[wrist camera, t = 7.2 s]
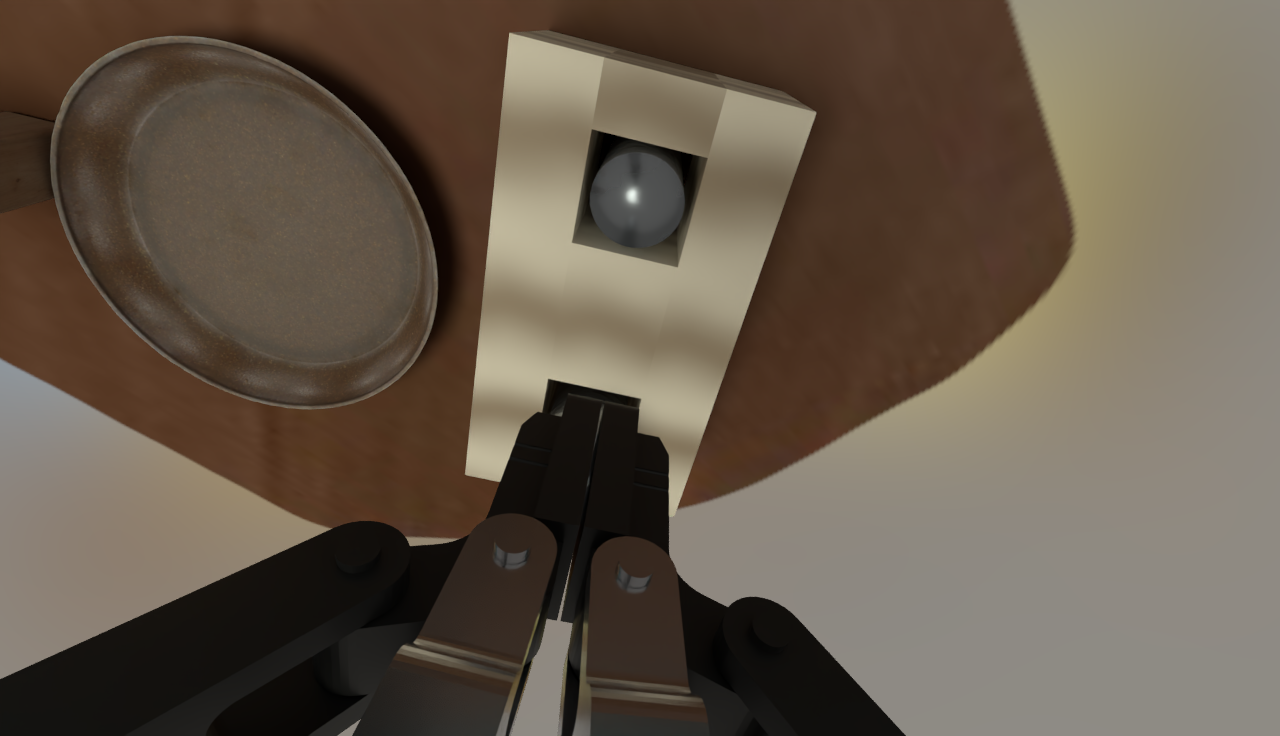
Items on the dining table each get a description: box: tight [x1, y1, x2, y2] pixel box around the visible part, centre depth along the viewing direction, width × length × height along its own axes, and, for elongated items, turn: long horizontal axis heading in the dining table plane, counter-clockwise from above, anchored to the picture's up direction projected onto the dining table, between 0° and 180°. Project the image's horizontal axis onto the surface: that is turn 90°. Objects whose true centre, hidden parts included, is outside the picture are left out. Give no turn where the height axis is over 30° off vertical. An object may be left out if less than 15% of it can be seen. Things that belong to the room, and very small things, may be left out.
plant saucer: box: [50, 36, 438, 409], centre depth 34 cm, size 21×21×3 cm
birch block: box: [465, 30, 817, 517], centre depth 31 cm, size 22×12×8 cm, turn 167°
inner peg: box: [590, 136, 685, 248], centre depth 28 cm, size 4×4×8 cm
